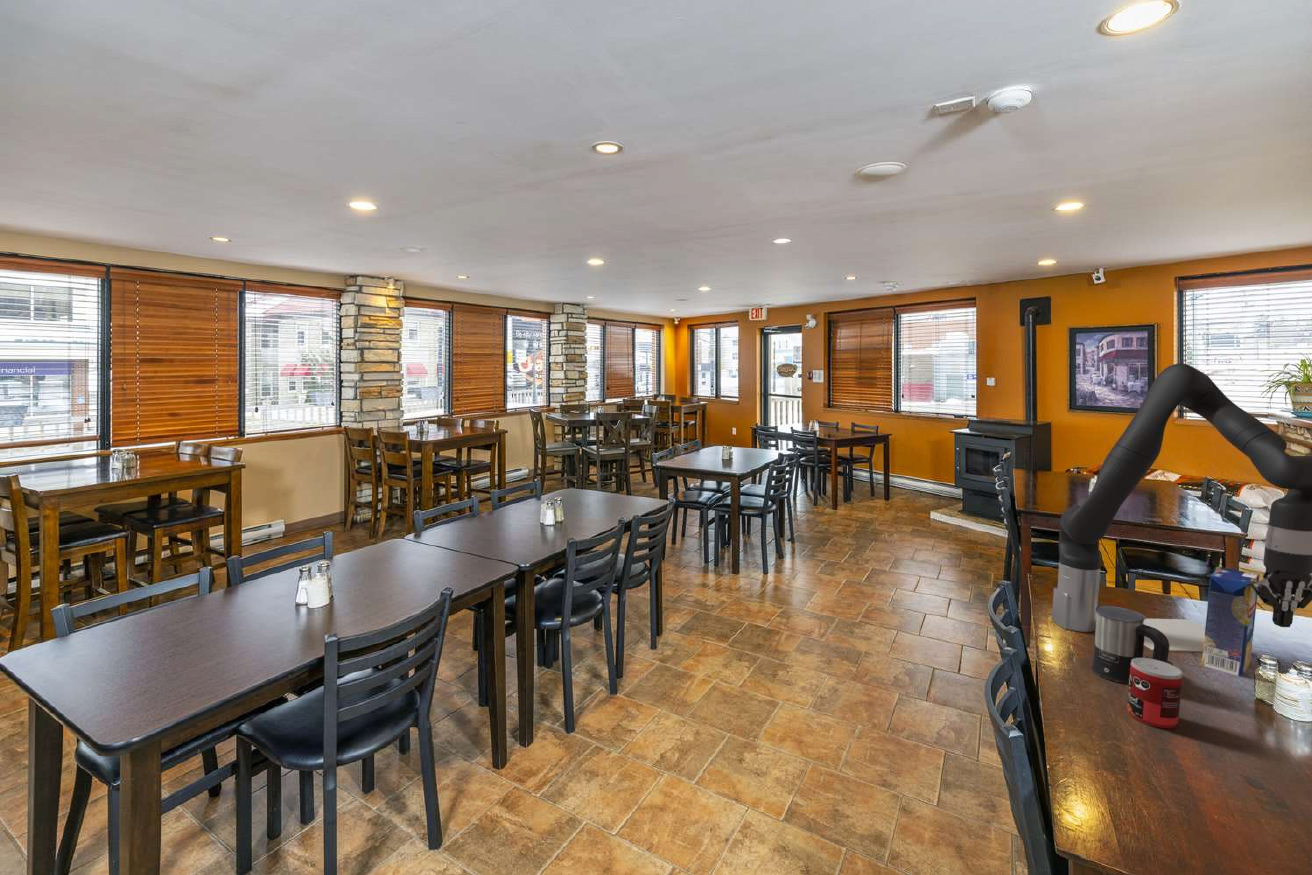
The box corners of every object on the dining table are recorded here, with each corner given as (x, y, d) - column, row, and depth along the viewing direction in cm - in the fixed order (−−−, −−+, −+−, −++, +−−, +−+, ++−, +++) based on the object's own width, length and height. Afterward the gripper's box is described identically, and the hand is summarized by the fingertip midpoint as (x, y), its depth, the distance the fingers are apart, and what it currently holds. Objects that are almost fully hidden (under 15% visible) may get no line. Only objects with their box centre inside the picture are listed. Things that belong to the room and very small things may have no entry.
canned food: (1125, 703, 126) (1129, 653, 125) (1174, 715, 121) (1179, 664, 120) (1128, 720, 120) (1132, 668, 118) (1180, 734, 115) (1185, 680, 114)
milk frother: (1086, 674, 138) (1091, 612, 137) (1098, 652, 149) (1103, 594, 148) (1167, 697, 128) (1173, 631, 127) (1173, 671, 139) (1179, 610, 138)
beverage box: (1250, 662, 144) (1259, 574, 141) (1241, 676, 137) (1250, 584, 135) (1212, 652, 149) (1220, 567, 147) (1201, 665, 142) (1210, 576, 140)
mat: (1152, 650, 150) (1152, 649, 150) (1099, 618, 170) (1099, 617, 170) (1254, 653, 149) (1254, 651, 149) (1188, 620, 168) (1188, 619, 168)
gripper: (1274, 552, 125) (1266, 632, 126) (1341, 553, 124) (1332, 633, 125) (1241, 542, 132) (1234, 618, 134) (1305, 543, 131) (1296, 619, 133)
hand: (1281, 625), depth 130 cm, fingers closed
